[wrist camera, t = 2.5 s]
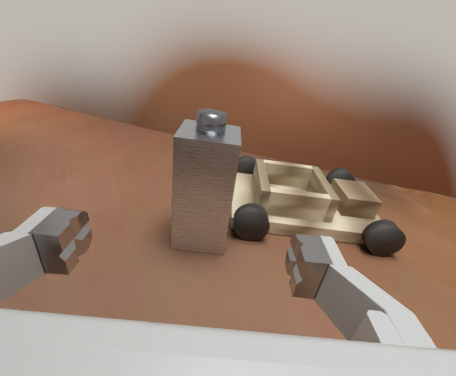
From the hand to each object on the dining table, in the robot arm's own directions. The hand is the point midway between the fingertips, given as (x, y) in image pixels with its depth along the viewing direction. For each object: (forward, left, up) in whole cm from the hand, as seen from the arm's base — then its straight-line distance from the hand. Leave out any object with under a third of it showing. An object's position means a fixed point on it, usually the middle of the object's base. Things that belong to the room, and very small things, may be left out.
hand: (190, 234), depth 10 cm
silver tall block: (0, +12, -11) cm, 16 cm away
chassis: (+12, +19, -10) cm, 25 cm away
